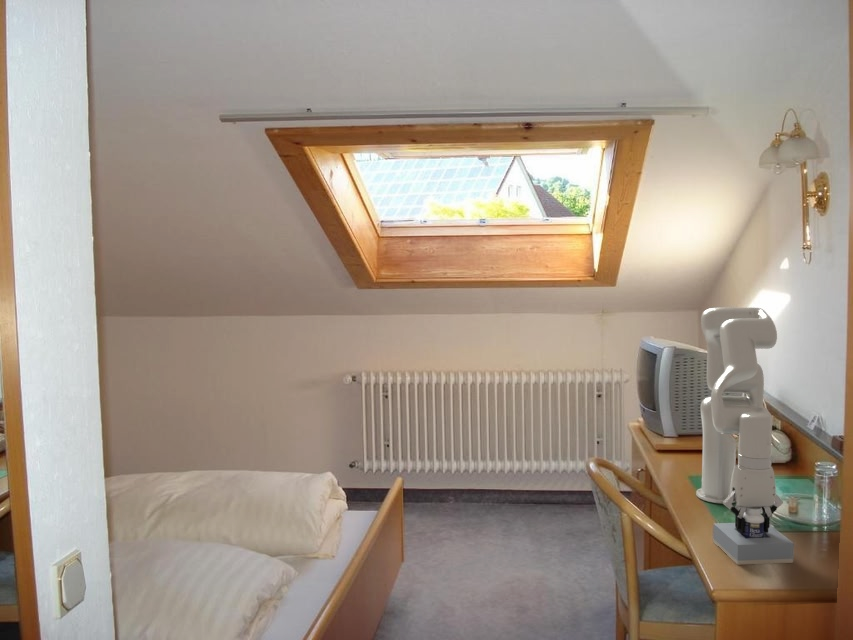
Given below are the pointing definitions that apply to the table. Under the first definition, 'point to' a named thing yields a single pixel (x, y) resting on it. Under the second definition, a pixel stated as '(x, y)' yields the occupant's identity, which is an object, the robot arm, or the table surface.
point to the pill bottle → (753, 523)
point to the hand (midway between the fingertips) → (752, 530)
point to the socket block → (753, 545)
